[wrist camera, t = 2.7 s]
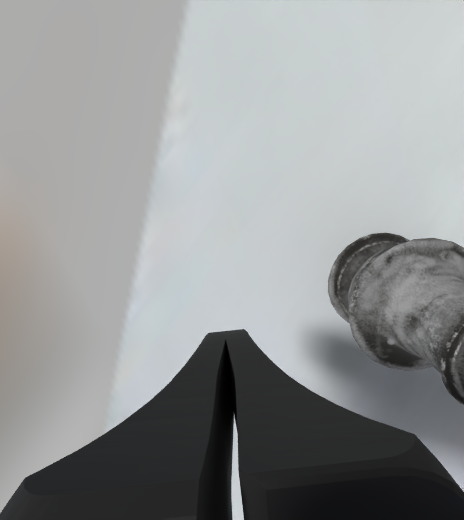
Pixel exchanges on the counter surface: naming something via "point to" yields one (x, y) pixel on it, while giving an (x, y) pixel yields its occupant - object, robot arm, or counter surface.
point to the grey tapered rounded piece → (404, 303)
